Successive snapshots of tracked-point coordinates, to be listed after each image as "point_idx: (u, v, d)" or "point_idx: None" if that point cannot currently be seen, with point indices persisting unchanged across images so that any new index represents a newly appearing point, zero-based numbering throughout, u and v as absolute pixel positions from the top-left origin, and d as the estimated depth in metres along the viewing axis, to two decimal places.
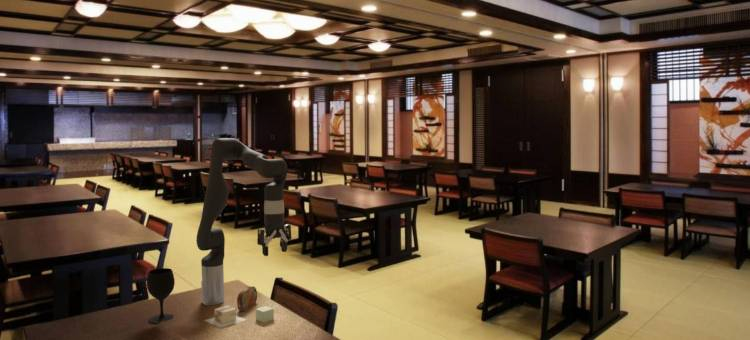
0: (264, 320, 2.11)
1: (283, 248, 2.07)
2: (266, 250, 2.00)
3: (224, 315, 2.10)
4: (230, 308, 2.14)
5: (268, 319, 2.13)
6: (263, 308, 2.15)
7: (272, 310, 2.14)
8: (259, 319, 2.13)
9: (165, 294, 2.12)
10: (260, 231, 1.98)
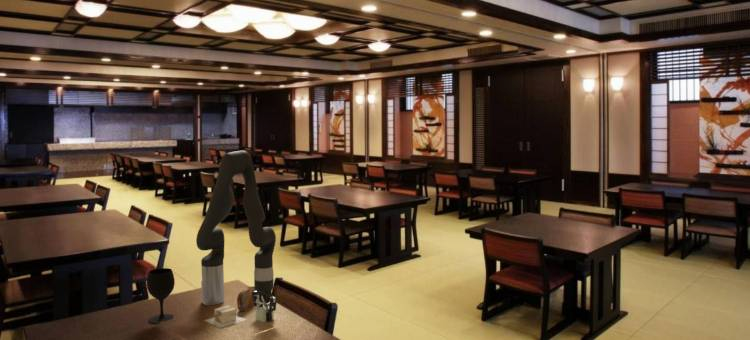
0: (264, 320, 2.11)
1: None
2: None
3: (224, 315, 2.10)
4: (230, 308, 2.14)
5: None
6: (263, 308, 2.15)
7: None
8: (259, 319, 2.13)
9: (165, 294, 2.12)
10: (275, 299, 2.10)
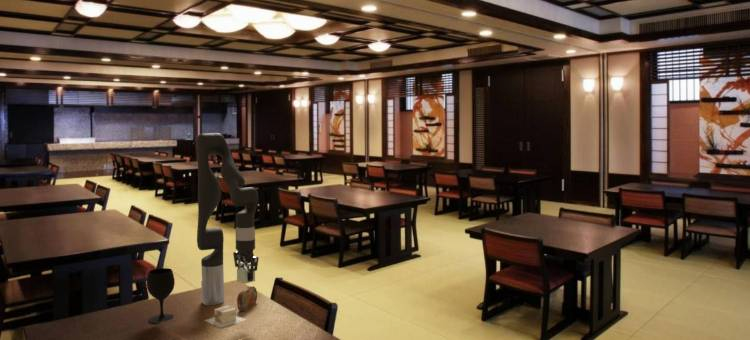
0: (245, 280, 2.10)
1: None
2: (252, 275, 2.12)
3: (224, 315, 2.10)
4: (230, 308, 2.14)
5: None
6: (244, 268, 2.14)
7: None
8: (240, 279, 2.12)
9: (165, 294, 2.12)
10: (257, 259, 2.09)
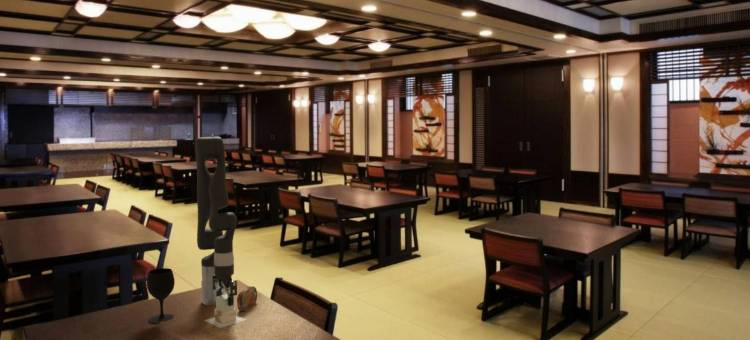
0: (224, 308, 2.10)
1: None
2: None
3: (224, 315, 2.10)
4: None
5: (228, 307, 2.12)
6: (223, 296, 2.13)
7: None
8: (219, 307, 2.12)
9: (165, 294, 2.12)
10: (235, 282, 2.08)
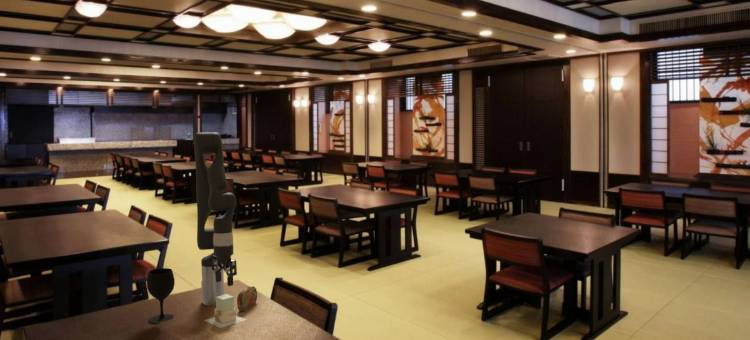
0: (224, 308, 2.10)
1: (219, 278, 2.15)
2: (232, 279, 2.10)
3: (224, 315, 2.10)
4: None
5: (228, 307, 2.12)
6: (223, 296, 2.13)
7: (232, 298, 2.13)
8: (219, 307, 2.12)
9: (165, 294, 2.12)
10: (234, 262, 2.08)
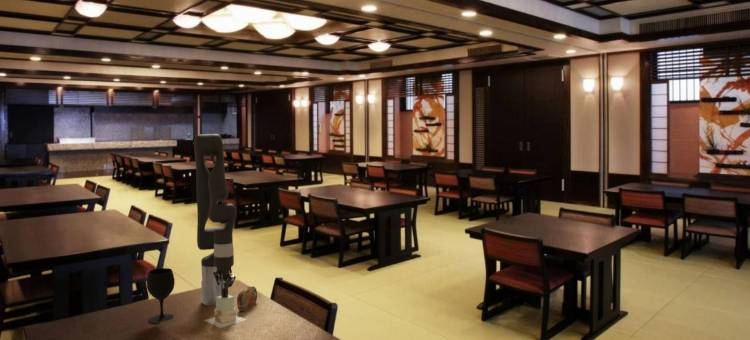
0: (224, 308, 2.10)
1: None
2: (227, 291, 2.13)
3: (224, 315, 2.10)
4: None
5: (228, 307, 2.12)
6: None
7: (232, 298, 2.13)
8: (219, 307, 2.12)
9: (165, 294, 2.12)
10: (233, 279, 2.09)
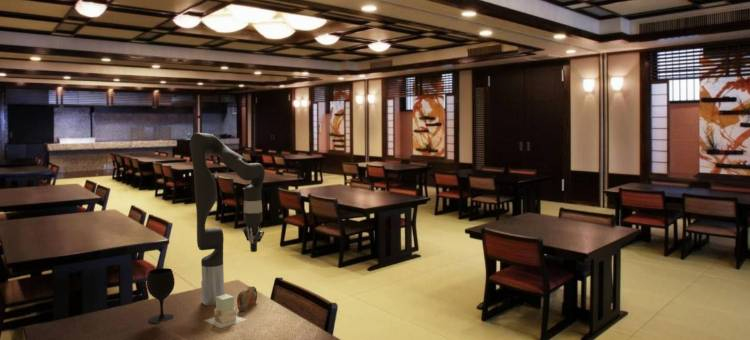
0: (224, 308, 2.10)
1: None
2: None
3: (224, 315, 2.10)
4: None
5: (228, 307, 2.12)
6: (223, 296, 2.13)
7: (232, 298, 2.13)
8: (219, 307, 2.12)
9: (165, 294, 2.12)
10: (262, 234, 2.21)
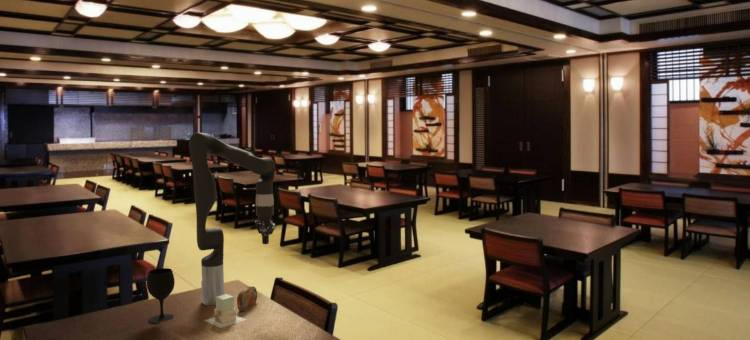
0: (224, 308, 2.10)
1: None
2: None
3: (224, 315, 2.10)
4: None
5: (228, 307, 2.12)
6: (223, 296, 2.13)
7: (232, 298, 2.13)
8: (219, 307, 2.12)
9: (165, 294, 2.12)
10: (274, 226, 2.27)
